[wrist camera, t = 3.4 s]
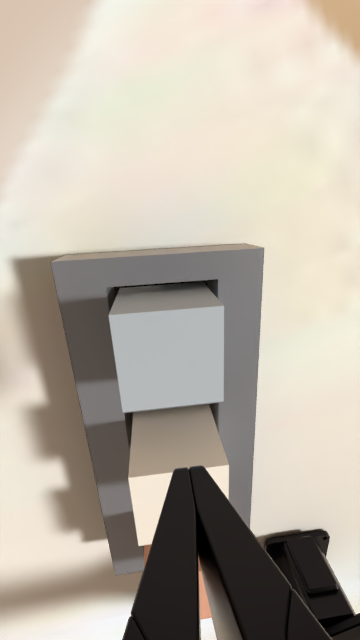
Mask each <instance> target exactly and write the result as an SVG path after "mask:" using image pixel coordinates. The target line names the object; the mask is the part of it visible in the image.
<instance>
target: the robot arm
mask: <svg viewBox="0 0 360 640" xmlns="http://www.w3.org/2000/svg"><path fill="white" fill-rule="evenodd" d="M329 539H330V536H329V534H328V533H327V531H318V532H312V533H305V534H299V535H292V536H286V537H279V538H273V539H268V540H266V541H265V545H264V548H263V546H262V545H261V543H260V542H259V541H258V539H257V538H256V537H255V535H254V534H253V533H252V531H251V530H250V528H249V527H248V526H247V524H246V523H245V522H244V520H243V519H242V518H241V516H240V515H239V513H238V512H237V511H236V509H235V508H234V507H233V505H232V504H231V503H230V501H229V500H228V498H227V497H226V496H225V494H224V493H223V492H222V490H221V489H220V488H219V486H218V485H217V483H216V482H215V481H214V479H213V478H212V477H211V475H210V474H209V473H208V471H207V470H206V468H205V467H204V466H202V465H200V466H192V467H190V468H189V469H188V468H187V467H184V468H176V469H174V471H173V474H172V477H171V481H170V484H169V487H168V491H167V494H166V497H165V501H164V504H163V507H162V511H161V514H160V517H159V520H158V524H157V527H156V530H155V534H154V537H153V540H152V544H151V547H150V550H149V554H148V557H147V560H146V564H145V567H144V570H143V574H142V577H141V580H140V584H139V587H138V590H137V593H136V597H135V600H134V603H133V607H132V610H131V616H130V617H129V619H128V623H127V626H126V629H125V633H124V636H123V639H122V640H201V628H200V595H199V564H198V557H199V563H200V567H201V572H202V576H203V581H204V585H205V589H206V594H207V598H208V602H209V607H210V611H211V615H212V620H213V624H214V628H215V633H216V637H217V640H360V613H359V614H355V612H354V610H353V608H352V606H351V604H350V603H349V601H348V599H347V597H346V595H345V593H344V591H343V589H342V587H341V585H340V584H339V582H338V580H337V578H336V576H335V574H334V572H333V570H332V568H331V566H330V564H329V563H328V561H327V559H326V554H327V549H328V544H329Z"/></svg>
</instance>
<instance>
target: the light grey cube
mask: <svg viewBox="0 0 360 640" xmlns="http://www.w3.org/2000/svg"><path fill="white" fill-rule="evenodd" d="M109 322H110V329H111V336H112V342H113V349H114V356H115V363H116V370H117V377H118V384H119V390H120V397H121V404H122V411H123V412H131V411H140V410H149V409H158V408H167V407H177V406H186V405H195V404H204V403H213V402H222V401H224V305H223V304H222V303H221V302H220V301H219V300H218V298H217V297H216V296H215V295H214V294H213V293H212V292H211V290H210V289H209V288H208V287H207V286H206V285H205V284H204V283H203V282H197V283H183V284H170V285H156V286H142V287H129V288H120V289H119V291H118V294H117V296H116V298H115V301H114V303H113V306H112V308H111V310H110V313H109Z"/></svg>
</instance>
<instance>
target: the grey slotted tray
mask: <svg viewBox="0 0 360 640" xmlns="http://www.w3.org/2000/svg"><path fill="white" fill-rule="evenodd" d="M263 263H264V248H262V247H258V246H254V245H250V244H246V243H245V244H229V245H213V246H197V247H181V248H165V249H149V250H133V251H116V252H100V253H84V254H68V255H65V256H62V257H60V258H58V259H55V260H53V261H51V267H52V272H53V276H54V281H55V286H56V291H57V296H58V301H59V305H60V310H61V315H62V320H63V325H64V330H65V334H66V339H67V344H68V349H69V354H70V359H71V363H72V368H73V373H74V378H75V383H76V388H77V392H78V397H79V402H80V407H81V412H82V417H83V421H84V426H85V431H86V436H87V441H88V446H89V450H90V455H91V460H92V465H93V470H94V475H95V479H96V484H97V489H98V494H99V499H100V504H101V508H102V513H103V518H104V523H105V528H106V533H107V537H108V542H109V547H110V552H111V557H112V562H113V566H114V571H115V575H121V574H127V573H134V572H140V571H143V570H144V545H142V546H139V545H138V539H137V532H136V526H135V519H134V513H133V506H132V500H131V493H130V486H129V480H128V474H129V461H130V448H131V436H132V418H131V412H139V411H131V412H123V411H122V404H121V397H120V390H119V384H118V377H117V370H116V363H115V356H114V349H113V342H112V336H111V329H110V322H109V313H110V310H111V308H112V306H113V303H114V301H115V291H114V287H118V286H132V285H145V284H159V283H173V282H187V281H201V280H207V287H208V288H209V289H210V290H211V292H212V293H213V294H214V295H215V296H216V297H217V298H218V300H219V301H220V302H221V303H222V304H223V305H224V401H222V402H213V403H204V404H209V406H210V409H211V412H212V415H213V418H214V421H215V424H216V427H217V430H218V433H219V436H220V439H221V442H222V445H223V448H224V451H225V454H226V457H227V460H228V463H229V501H230V503H231V504H232V505H233V507H234V508H235V509H236V511H237V512H238V513H239V515H240V516H241V518H242V519H243V520H244V522H245V523H246V524H247V526H248V527H249V528H250V513H251V494H252V474H253V455H254V436H255V417H256V397H257V378H258V359H259V340H260V320H261V301H262V282H263ZM195 405H203V404H195ZM186 406H194V405H186ZM177 407H185V406H177ZM167 408H176V407H167ZM167 408H158V409H167ZM158 409H149V410H158ZM140 411H148V410H140Z"/></svg>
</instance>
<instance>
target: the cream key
mask: <svg viewBox="0 0 360 640" xmlns="http://www.w3.org/2000/svg"><path fill="white" fill-rule="evenodd" d="M200 465H202V466H204V467H205V468H206V470H207V471H208V473H209V474H210V475H211V477H212V478H213V479H214V481H215V482H216V483H217V485H218V486H219V488H220V489H221V490H222V492H223V493H224V494H225V496H226V497H227V498H228V500H229V463H228V460H227V457H226V454H225V451H224V448H223V445H222V442H221V439H220V436H219V433H218V430H217V427H216V424H215V421H214V418H213V415H212V412H211V409H210V406H209V404H203V405H194V406H185V407H176V408H167V409H158V410H148V411H139V412H133V423H132V436H131V448H130V461H129V474H128V480H129V486H130V493H131V500H132V506H133V513H134V519H135V526H136V532H137V539H138V545H139V546H142V545H149V544H152V540H153V537H154V534H155V530H156V527H157V524H158V520H159V517H160V514H161V511H162V507H163V504H164V501H165V497H166V494H167V491H168V487H169V484H170V481H171V477H172V474H173V471H174V469H176V468H184V467H187V468H188V469H189V468H190V467H192V466H200Z"/></svg>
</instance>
